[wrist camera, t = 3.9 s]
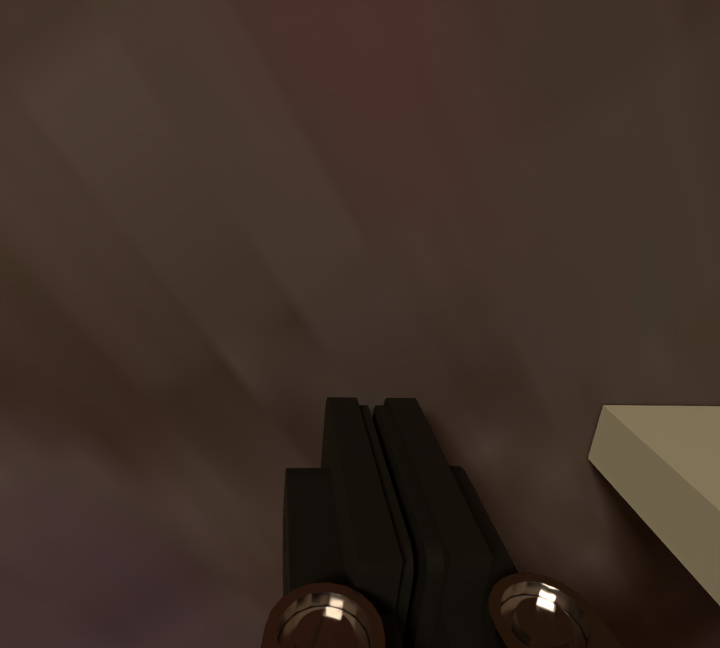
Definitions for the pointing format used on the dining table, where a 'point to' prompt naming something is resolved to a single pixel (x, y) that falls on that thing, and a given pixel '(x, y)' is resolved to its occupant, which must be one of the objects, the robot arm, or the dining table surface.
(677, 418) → the loose leaf
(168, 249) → the dining table surface
